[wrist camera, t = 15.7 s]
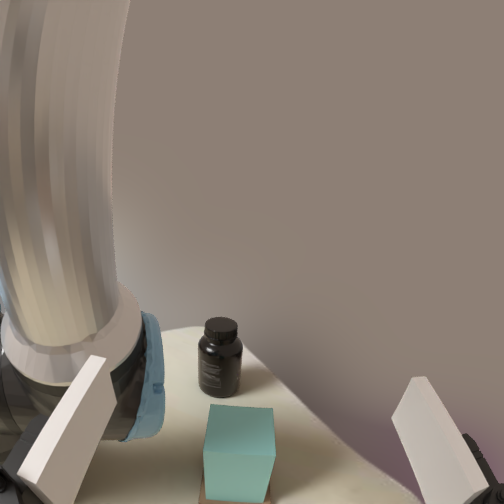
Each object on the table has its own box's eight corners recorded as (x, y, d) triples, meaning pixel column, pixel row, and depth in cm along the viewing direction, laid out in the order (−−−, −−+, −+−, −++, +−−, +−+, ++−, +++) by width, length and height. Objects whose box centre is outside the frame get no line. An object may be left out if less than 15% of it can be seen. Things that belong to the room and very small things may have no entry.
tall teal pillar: (263, 502, 26) (275, 455, 23) (205, 499, 26) (203, 450, 23) (262, 462, 32) (272, 408, 29) (211, 459, 32) (210, 403, 29)
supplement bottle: (248, 390, 47) (254, 329, 43) (211, 404, 43) (212, 341, 39) (225, 368, 52) (228, 309, 49) (191, 379, 48) (189, 318, 45)
